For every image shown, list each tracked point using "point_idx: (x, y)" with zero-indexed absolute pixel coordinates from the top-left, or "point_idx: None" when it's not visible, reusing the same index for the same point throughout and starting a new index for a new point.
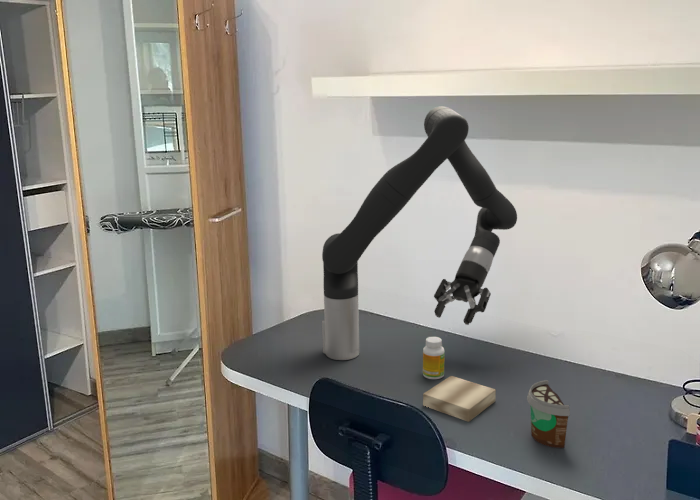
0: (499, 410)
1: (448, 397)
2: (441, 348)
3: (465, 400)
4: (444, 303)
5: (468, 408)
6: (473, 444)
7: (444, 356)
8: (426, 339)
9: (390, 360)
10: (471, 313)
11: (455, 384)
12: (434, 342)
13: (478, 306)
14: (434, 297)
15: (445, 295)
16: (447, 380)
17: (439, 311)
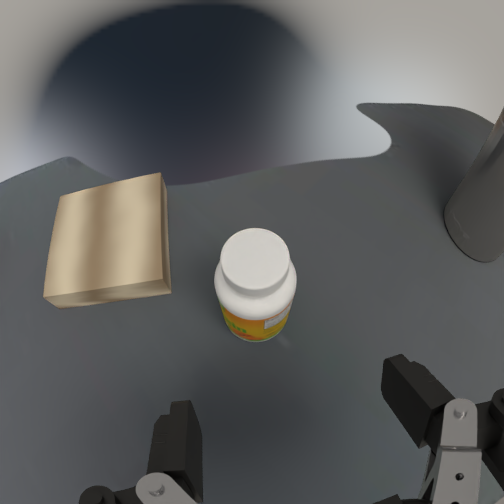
0: (42, 283)
1: (109, 197)
2: (226, 287)
3: (76, 213)
4: (432, 443)
5: (62, 197)
6: (48, 178)
7: (225, 312)
8: (276, 236)
9: (403, 287)
10: (156, 455)
11: (125, 249)
12: (230, 237)
13: (102, 493)
14: (501, 389)
15: (462, 446)
16: (153, 250)
17: (395, 381)
